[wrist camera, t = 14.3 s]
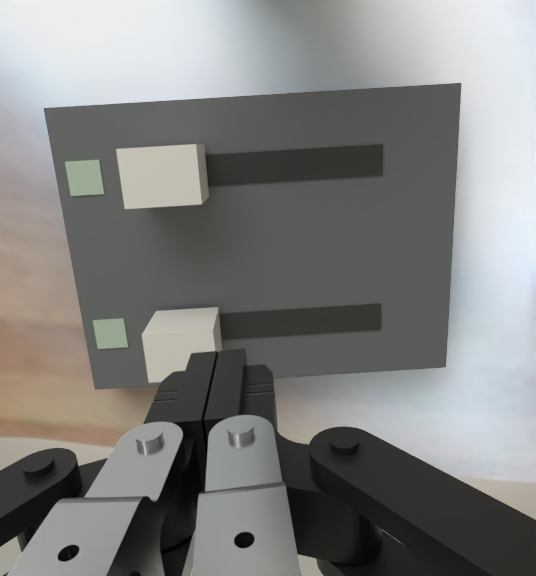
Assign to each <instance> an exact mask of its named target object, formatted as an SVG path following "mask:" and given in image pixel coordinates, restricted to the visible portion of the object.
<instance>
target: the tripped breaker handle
mask: <svg viewBox="0 0 536 576" xmlns="http://www.w3.org/2000/svg"><path fill="white" fill-rule="evenodd" d="M142 340H143V347H144V354H145V361H146V368H147V375H148V382H149V383H154V382H162V381H163V380H164V379H165V378H166V377H167V376H169V375H170V374H171V373H172V372H176V371H185V369H186V366H187V364H188V361H189V358H190V355H191V353H198V352H211V351H218V353H219V351H222V340H221V329H220V318H219V308H218V307H211V308H195V309H179V310H163V311H156V312H155V314H154V315H153V317H152V319H151V320H150V322H149V323H148V325H147V327H146V328H145V330H144V332H143V333H142Z"/></svg>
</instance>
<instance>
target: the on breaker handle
mask: <svg viewBox="0 0 536 576" xmlns="http://www.w3.org/2000/svg"><path fill="white" fill-rule="evenodd" d="M116 153H117V160H118V167H119V173H120V180H121V187H122V194H123V201H124V208H125V209H136V208H152V207H168V206H184V205H201V204H203V203H204V202H205V200H206V199H207V198H208V197H209V189H208V178H207V168H206V157H205V146H204V144H188V145H172V146H155V147H139V148H123V149H116Z"/></svg>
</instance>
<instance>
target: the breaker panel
mask: <svg viewBox="0 0 536 576" xmlns="http://www.w3.org/2000/svg"><path fill="white" fill-rule="evenodd" d="M460 97H461V83H454V84H437V85H421V86H404V87H388V88H371V89H355V90H338V91H322V92H305V93H288V94H272V95H255V96H239V97H222V98H206V99H189V100H173V101H156V102H140V103H123V104H107V105H90V106H74V107H57V108H44V112H45V118H46V123H47V129H48V134H49V140H50V145H51V151H52V156H53V162H54V167H55V173H56V178H57V184H58V189H59V195H60V200H61V206H62V211H63V217H64V222H65V228H66V233H67V239H68V244H69V249H70V255H71V260H72V266H73V271H74V277H75V282H76V288H77V293H78V299H79V304H80V310H81V315H82V321H83V326H84V332H85V337H86V343H87V348H88V354H89V359H90V365H91V370H92V376H93V381H94V387H95V390H97V389H112V388H128V387H144V386H159V385H160V384H161V382H154V383H149V382H148V375H147V368H146V361H145V354H144V347H143V340H142V333H143V332H144V330H145V328H146V327H147V325H148V323H149V322H150V320H151V319H152V317H153V315H154V314H155V312H156V311H163V310H179V309H195V308H211V307H218V308H219V318H220V329H221V340H222V350H235V349H245V350H246V356H247V365H248V366H249V365H262V364H265V365H266V366H267V367H268V368H269V369H270V370H271V371H272V372H273V378H284V377H300V376H315V375H331V374H347V373H362V372H378V371H394V370H409V369H425V368H441V367H446V355H447V337H448V318H449V300H450V281H451V263H452V245H453V226H454V208H455V189H456V171H457V152H458V134H459V115H460ZM188 144H204V146H205V157H206V168H207V178H208V189H209V197H208V198H207V199H206V200H205V202H204V203H203V204H201V205H184V206H168V207H152V208H136V209H125V208H124V201H123V194H122V187H121V180H120V173H119V167H118V160H117V153H116V149H123V148H139V147H155V146H172V145H188Z"/></svg>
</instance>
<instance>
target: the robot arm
mask: <svg viewBox="0 0 536 576" xmlns="http://www.w3.org/2000/svg"><path fill="white" fill-rule="evenodd" d="M382 530H384V531H385V532H384V531H382ZM386 532H387V533H388V534H389V535H388V534H387V533H386ZM390 535H391V536H392V537H391V536H390ZM16 536H17V538H18V541H19V545H20V548H21V552H22V554H21V555H20V557H19V558H18V559H17V561H16V562H15V564H14V565H13V567H12V568H11V570H10V571H9V572H8V573H6V574H5V575H4V576H190V575H191V571H192V576H301V572H300V567H299V561H298V555H297V554H300V555H304V556H309V557H313V558H317V564H318V567H319V569H320V571H321V573H322V574H323V575H324V576H536V520H535V519H533V518H531V517H529V516H527V515H525V514H523V513H521V512H520V511H518V510H516V509H514V508H512V507H510V506H508V505H506V504H504V503H502V502H500V501H498V500H497V499H495V498H493V497H491V496H489V495H487V494H485V493H483V492H481V491H479V490H477V489H475V488H473V487H472V486H470V485H468V484H466V483H464V482H462V481H460V480H458V479H456V478H454V477H453V476H451V475H449V474H447V473H445V472H443V471H441V470H439V469H437V468H435V467H433V466H431V465H430V464H428V463H426V462H424V461H422V460H420V459H418V458H416V457H414V456H412V455H410V454H408V453H407V452H405V451H403V450H401V449H399V448H397V447H395V446H393V445H391V444H389V443H387V442H386V441H384V440H382V439H380V438H378V437H376V436H374V435H372V434H370V433H368V432H366V431H364V430H361V429H358V428H353V427H334V428H329V429H326V430H324V431H322V432H319V433H318V434H317V435H315V436H314V437H313V438H312V440H311V441H310V444H309V445H307V444H300V443H296V442H293V441H290V440H288V439H286V438H284V437H282V436H281V435H280V434H279V433H278V431H277V415H276V404H275V393H274V382H273V372H272V371H271V370H270V369H269V368H268V367H267V366H266V365H265V364H262V365H249V366H248V365H247V356H246V350H245V349H235V350H222V351H219V353H218V351H211V352H198V353H191V355H190V358H189V361H188V364H187V366H186V369H185V371H176V372H172V373H171V374H170V375H169V376H167V377H166V378H165V379H164V380H163V381H162V382H161V384H160V387H159V389H158V391H157V394H156V396H155V398H154V403H152V405H151V407H150V410H149V412H148V414H147V417H146V419H145V421H144V424H143V425H141V426H138V427H136V428H134V429H132V430H130V431H128V432H127V433H126V434H124V435H123V436H122V437H121V438H120V440H119V441H118V443H117V444H116V446H115V448H114V449H113V451H112V453H111V454H110V456H109V458H106V459H103V460H99V461H96V462H92V463H88V464H85V465H81V466H78V462H77V458H76V455H75V453H74V452H72V451H70V450H68V449H64V448H52V449H46V450H42V451H39V452H36V453H33V454H31V455H28V456H26V457H24V458H23V459H20V460H19V461H17V462H15V463H13V464H12V465H10V466H8V467H6V468H4V469H2V470H1V471H0V547H1V546H2V545H4V544H5V543H7V542H8V541H9V540H11V539H13V538H14V537H16ZM393 537H394V538H395V539H397V540H398V541H399V542H398V541H397V540H395V539H394V538H393ZM400 542H401V543H402V544H401V543H400ZM192 567H193V569H192Z"/></svg>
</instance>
